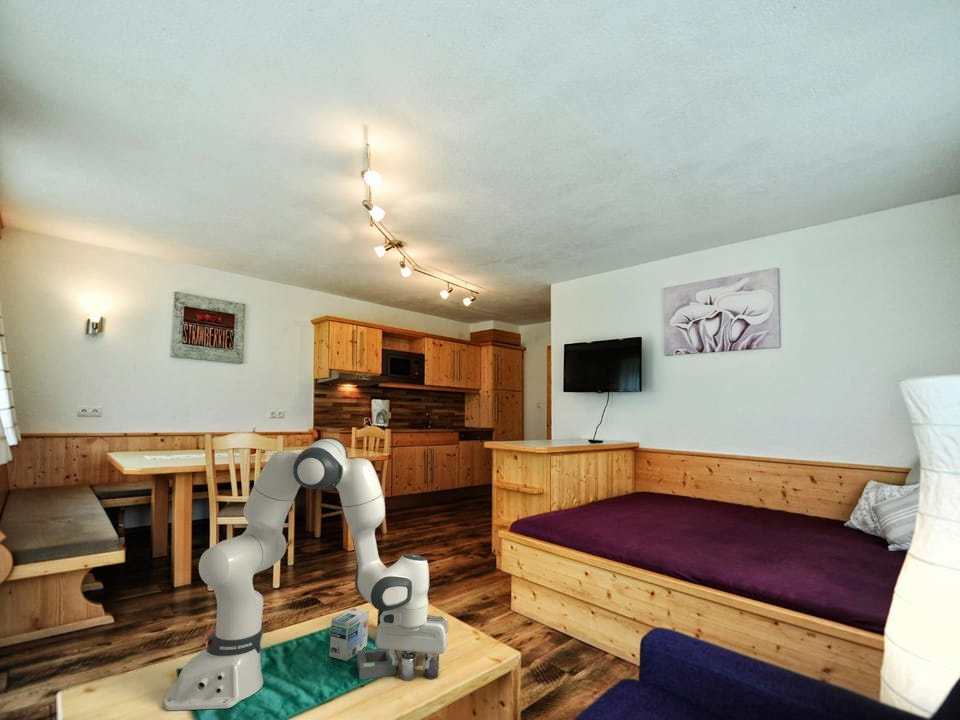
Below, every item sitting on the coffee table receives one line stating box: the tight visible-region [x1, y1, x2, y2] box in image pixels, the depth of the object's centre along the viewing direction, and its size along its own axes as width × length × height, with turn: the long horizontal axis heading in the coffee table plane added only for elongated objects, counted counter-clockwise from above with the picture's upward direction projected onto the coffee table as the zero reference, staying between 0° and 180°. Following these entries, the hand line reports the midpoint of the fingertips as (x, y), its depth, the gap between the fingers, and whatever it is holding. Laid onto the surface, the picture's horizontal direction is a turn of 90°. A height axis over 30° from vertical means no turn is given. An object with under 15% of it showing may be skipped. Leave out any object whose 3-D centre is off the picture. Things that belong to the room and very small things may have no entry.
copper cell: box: [423, 652, 440, 680], centre depth 136 cm, size 4×4×7 cm
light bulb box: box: [328, 607, 370, 662], centre depth 148 cm, size 11×7×11 cm, turn 158°
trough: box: [395, 650, 425, 670], centre depth 144 cm, size 12×8×3 cm, turn 108°
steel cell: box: [400, 650, 416, 682], centre depth 135 cm, size 4×4×7 cm
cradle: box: [356, 647, 397, 680], centre depth 139 cm, size 10×10×3 cm
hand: (410, 666), depth 134 cm, fingers open, 7 cm apart
